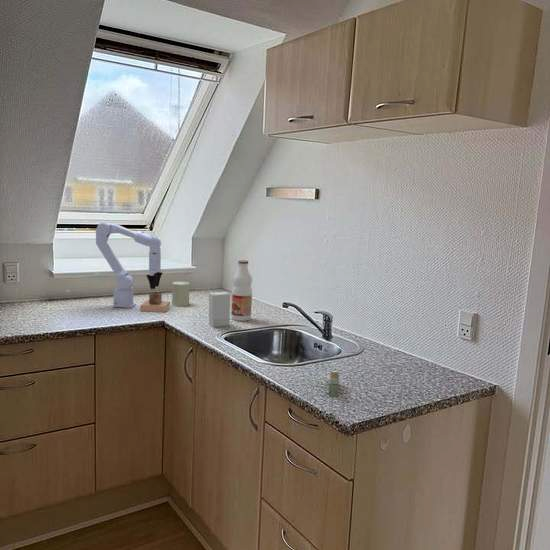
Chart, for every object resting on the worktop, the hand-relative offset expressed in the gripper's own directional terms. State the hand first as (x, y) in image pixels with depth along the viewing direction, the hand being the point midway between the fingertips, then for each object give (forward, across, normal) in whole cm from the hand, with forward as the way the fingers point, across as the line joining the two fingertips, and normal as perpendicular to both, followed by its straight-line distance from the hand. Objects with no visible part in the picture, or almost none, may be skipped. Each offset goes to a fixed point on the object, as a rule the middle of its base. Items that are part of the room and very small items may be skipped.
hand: (154, 287), depth 266 cm
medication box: (+10, -108, -81) cm, 135 cm away
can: (+10, +8, -12) cm, 18 cm away
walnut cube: (+7, -6, -2) cm, 10 cm away
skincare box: (+10, -33, -37) cm, 51 cm away
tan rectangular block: (+10, -6, -2) cm, 12 cm away
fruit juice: (+10, -19, -46) cm, 51 cm away
